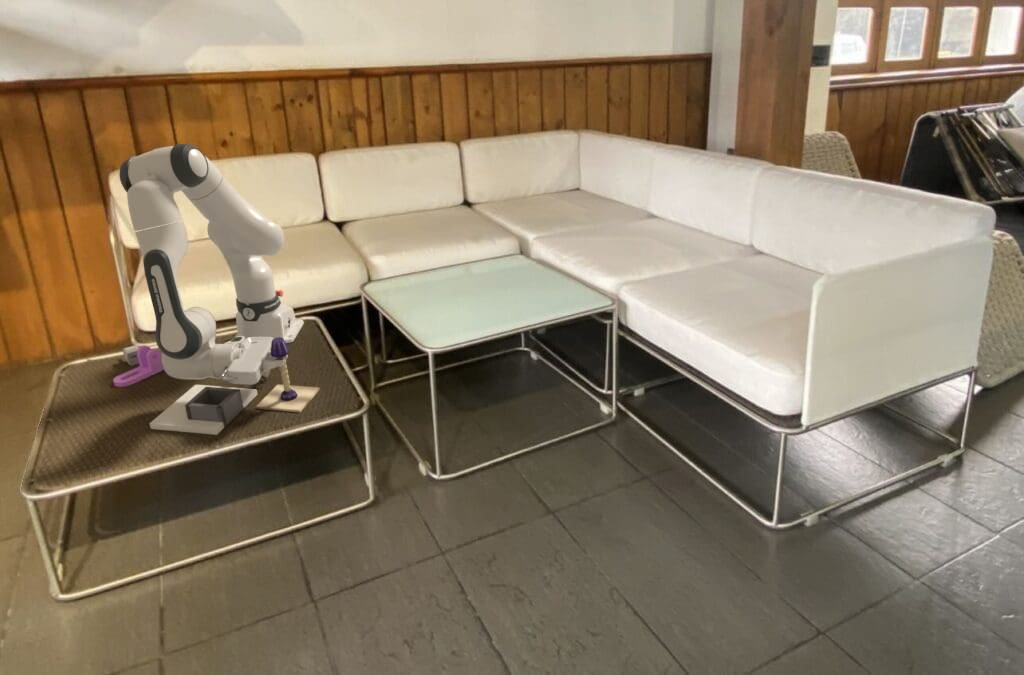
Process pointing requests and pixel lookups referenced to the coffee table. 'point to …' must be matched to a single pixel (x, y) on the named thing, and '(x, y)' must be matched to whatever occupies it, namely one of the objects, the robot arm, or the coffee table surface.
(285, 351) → the toy lamp
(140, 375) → the bracket
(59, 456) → the coffee table surface
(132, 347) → the usb wall charger
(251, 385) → the eagle figurine
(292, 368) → the coffee table surface
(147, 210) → the robot arm
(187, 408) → the socket board
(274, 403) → the birch pad
